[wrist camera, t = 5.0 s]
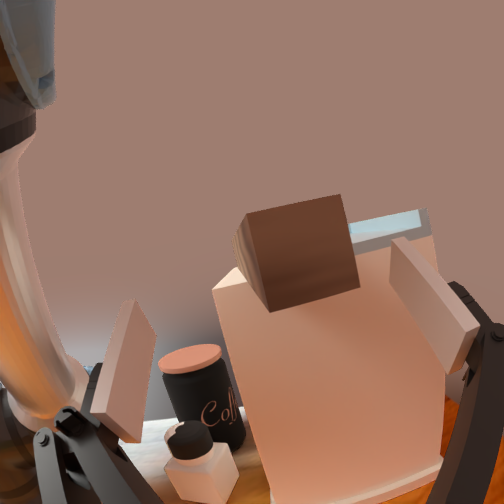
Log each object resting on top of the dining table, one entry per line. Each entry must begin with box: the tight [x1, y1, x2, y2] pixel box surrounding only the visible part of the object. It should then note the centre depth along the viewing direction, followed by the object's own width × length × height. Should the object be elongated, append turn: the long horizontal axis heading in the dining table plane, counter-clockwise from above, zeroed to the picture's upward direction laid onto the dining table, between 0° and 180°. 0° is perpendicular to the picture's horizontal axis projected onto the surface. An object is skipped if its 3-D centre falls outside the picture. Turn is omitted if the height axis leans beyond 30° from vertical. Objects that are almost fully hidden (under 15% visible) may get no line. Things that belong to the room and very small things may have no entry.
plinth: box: [212, 235, 445, 504], centre depth 36 cm, size 24×22×30 cm
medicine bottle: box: [164, 421, 239, 504], centre depth 34 cm, size 7×7×12 cm
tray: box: [348, 208, 432, 255], centre depth 36 cm, size 23×12×2 cm, turn 178°
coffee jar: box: [158, 344, 246, 453], centre depth 47 cm, size 11×11×18 cm
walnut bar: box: [232, 194, 361, 313], centre depth 28 cm, size 32×4×4 cm, turn 5°
